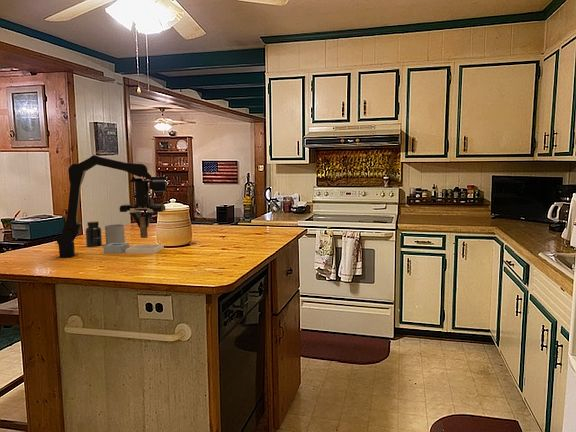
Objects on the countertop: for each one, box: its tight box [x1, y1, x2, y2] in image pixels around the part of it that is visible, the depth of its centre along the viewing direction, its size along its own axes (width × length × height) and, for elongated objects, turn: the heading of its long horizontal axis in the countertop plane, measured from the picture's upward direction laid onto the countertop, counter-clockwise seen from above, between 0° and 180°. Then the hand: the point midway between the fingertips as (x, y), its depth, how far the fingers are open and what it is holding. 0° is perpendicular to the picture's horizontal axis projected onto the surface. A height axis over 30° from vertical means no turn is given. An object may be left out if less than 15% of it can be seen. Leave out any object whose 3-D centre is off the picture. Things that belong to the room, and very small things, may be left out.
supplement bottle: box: [85, 220, 103, 248], centre depth 207 cm, size 7×7×12 cm
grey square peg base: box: [102, 242, 130, 254], centre depth 194 cm, size 8×8×4 cm
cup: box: [104, 223, 126, 245], centre depth 208 cm, size 8×8×10 cm
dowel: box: [139, 216, 149, 239], centre depth 193 cm, size 3×3×9 cm
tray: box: [125, 243, 165, 254], centre depth 194 cm, size 11×13×2 cm
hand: (143, 227), depth 193 cm, fingers closed on dowel, 3 cm apart
